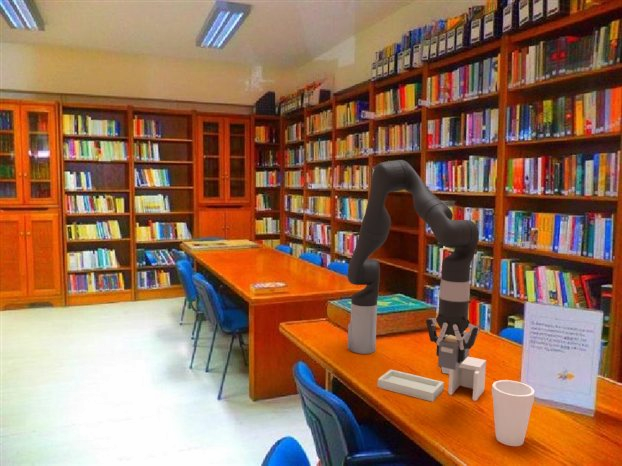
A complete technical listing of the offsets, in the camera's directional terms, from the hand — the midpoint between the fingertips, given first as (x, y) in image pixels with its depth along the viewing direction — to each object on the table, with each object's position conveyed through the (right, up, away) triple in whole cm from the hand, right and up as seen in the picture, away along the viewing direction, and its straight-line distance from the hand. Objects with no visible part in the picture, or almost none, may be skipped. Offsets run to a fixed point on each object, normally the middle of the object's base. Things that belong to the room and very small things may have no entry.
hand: (450, 359), depth 135 cm
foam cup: (+11, -17, -11) cm, 23 cm away
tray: (-7, -13, +18) cm, 23 cm away
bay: (+9, -13, +16) cm, 23 cm away
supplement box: (+10, -12, +33) cm, 36 cm away
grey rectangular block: (+2, -1, +3) cm, 4 cm away
